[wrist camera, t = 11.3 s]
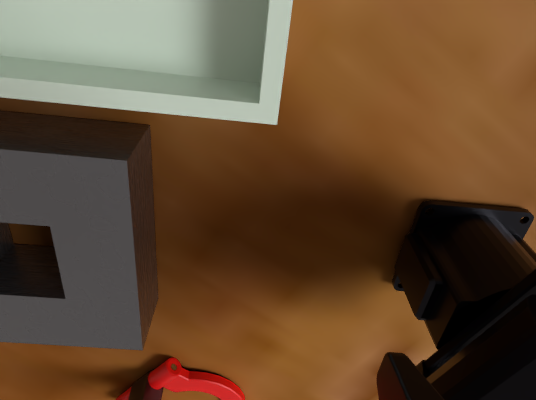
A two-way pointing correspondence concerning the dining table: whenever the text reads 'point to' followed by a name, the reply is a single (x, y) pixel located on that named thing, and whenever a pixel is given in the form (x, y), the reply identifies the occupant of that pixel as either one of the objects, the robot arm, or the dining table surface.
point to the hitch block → (77, 232)
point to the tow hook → (180, 383)
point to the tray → (148, 55)
